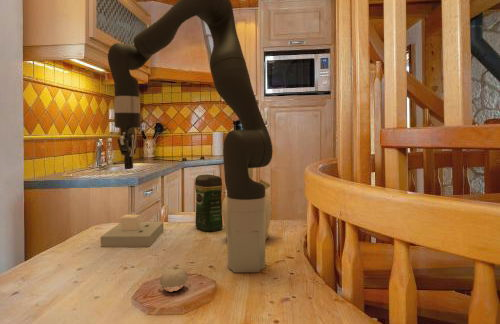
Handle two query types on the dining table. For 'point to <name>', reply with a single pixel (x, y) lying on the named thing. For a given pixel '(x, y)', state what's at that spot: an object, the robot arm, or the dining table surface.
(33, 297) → the dining table surface
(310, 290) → the dining table surface
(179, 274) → the garlic
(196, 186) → the coffee jar
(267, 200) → the jug
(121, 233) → the socket
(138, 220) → the plug
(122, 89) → the robot arm
